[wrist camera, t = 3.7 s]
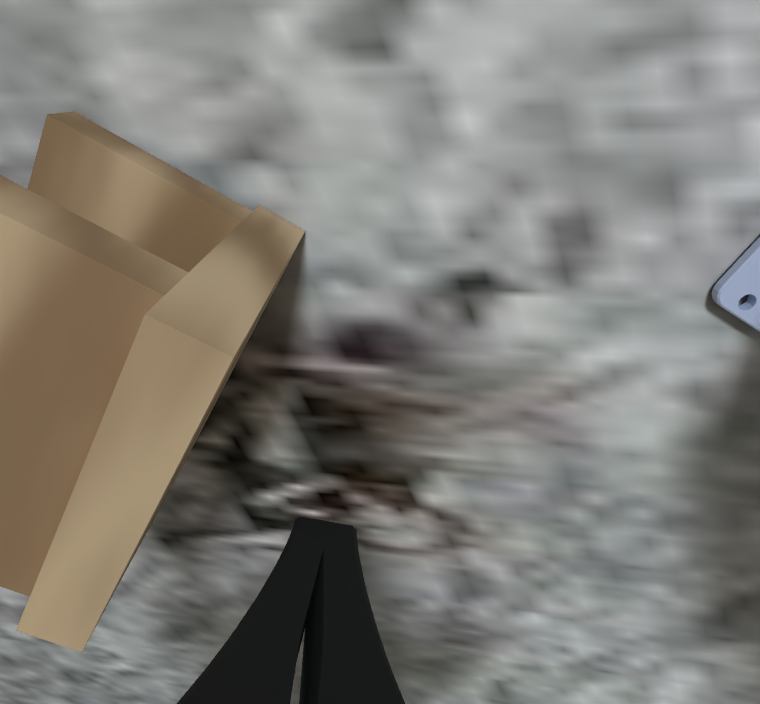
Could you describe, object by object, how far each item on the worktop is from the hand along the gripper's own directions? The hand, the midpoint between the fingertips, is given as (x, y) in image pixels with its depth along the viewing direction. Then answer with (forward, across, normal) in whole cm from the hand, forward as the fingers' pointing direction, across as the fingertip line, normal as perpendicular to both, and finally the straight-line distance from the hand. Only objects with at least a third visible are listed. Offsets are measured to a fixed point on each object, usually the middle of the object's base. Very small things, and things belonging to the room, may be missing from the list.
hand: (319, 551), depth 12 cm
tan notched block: (+7, +10, -3) cm, 12 cm away
